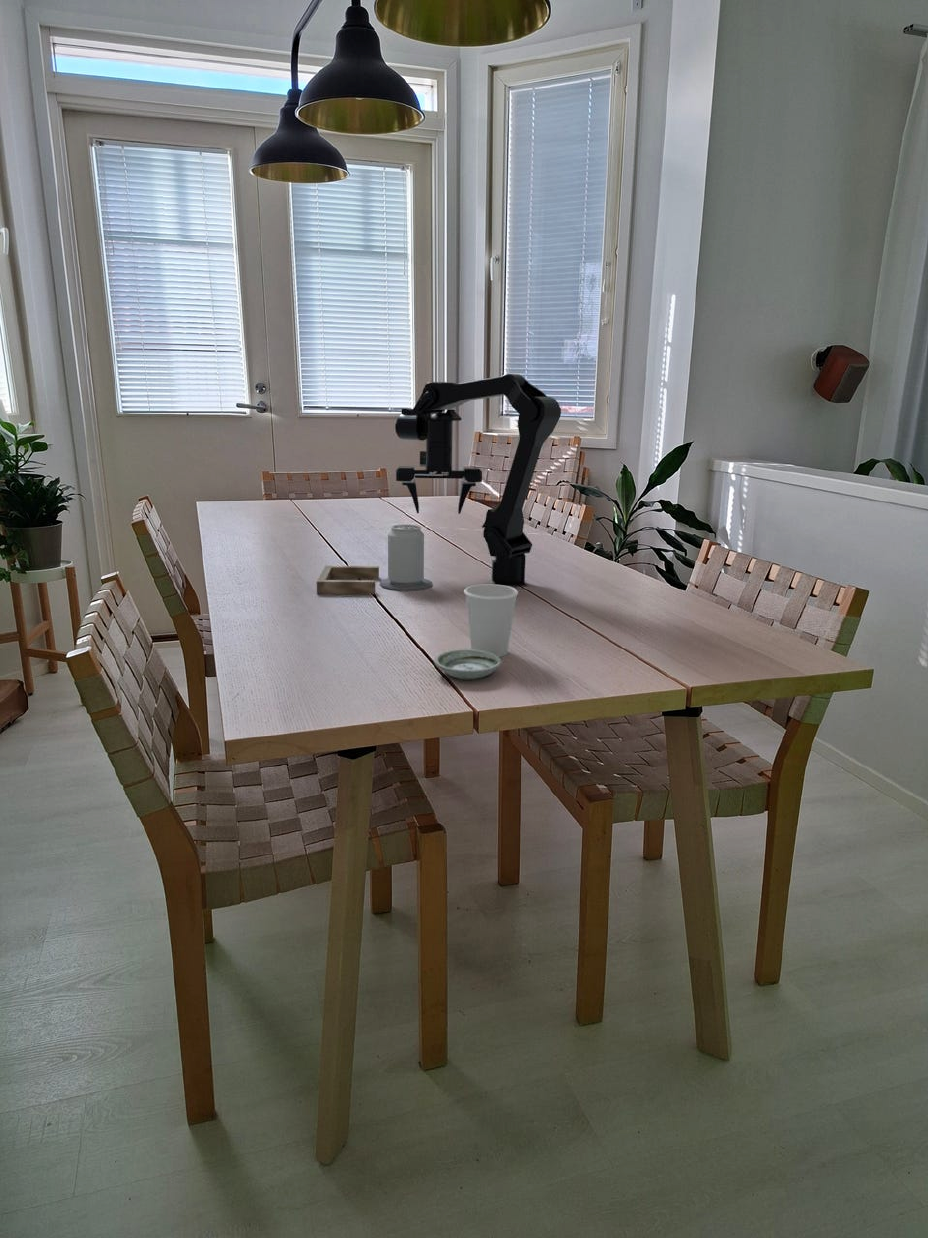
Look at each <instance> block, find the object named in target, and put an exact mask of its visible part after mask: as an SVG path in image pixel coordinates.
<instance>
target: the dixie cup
mask: <svg viewBox="0 0 928 1238" xmlns="http://www.w3.org/2000/svg"><path fill="white" fill-rule="evenodd" d="M463 594H465V599H466V601H465V602H466V610H467V623H468V631H469V639H470V649H474V650H482V651H486V652H490V653H493V654H495V655H496V656H498V657H499V658H500V657H504V656H506V655H508V651H509V646H510V645H509V644H510V641H511V640H510V639H511V633H512V626H513V619H514V615H515V614H514V613H515V608H516V600H517V596H518V595H519V591H518V590H517V589H516V588H514V587H513V586H504V585H495V583H494V584H491V583H488V584H487V583H486V584H483V583H482V584H475V585H470V586H467V587H466V588H465V589H464V590H463Z"/></svg>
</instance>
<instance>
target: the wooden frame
mask: <svg viewBox="0 0 928 1238" xmlns="http://www.w3.org/2000/svg"><path fill="white" fill-rule="evenodd" d="M379 578H380V566H379V565H378V566H377V565H325V566H324V567H323V570H322V572H321V573H320V575H319V577H318V579H317V580H316V594H318V595H376V580H379Z"/></svg>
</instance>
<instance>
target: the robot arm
mask: <svg viewBox="0 0 928 1238" xmlns="http://www.w3.org/2000/svg"><path fill="white" fill-rule="evenodd" d="M503 396H504V397H506V398H507V400H508V402H509V404H510V406H511V407H512V408H513V409H514V411H516V412H517V413H518V420H517V429H518V435H519V438H518V443H517V447H516V449H515V453H514V457H513V460H512V463H511V467H510V469H509V473H508V476H507V480H506V483H505V487H504V490H503V493H502V496H501V499H500V502H499V504H498V506H497V507H495V508H489V509H487V511H486V514H485V515H486V516H485V521H484V523H483V524H482V525H481V528H483V531H482V536H483V538H484V539H485V542H486V545H487V548H488V553H489V555H490V557H493V558H494V559H492V560H491V581H492V582H493V583H494V584H495V585H504V586H509V587H513V586H514V587H520V586H521V587H525V586H527V583H526V581H525V579H526V560H527V559H526V555H525V554H529V553H531V550H532V547H533V543H532V541H530V539H529V538H528V537H527V534H525V532H524V525H525V519H524V518H525V517H524V513H523V511H524V509H523V508H524V504H525V502H526V498H527V495H528V492H529V488H530V487H531V482H532V480H533V479H532V478H533V476H534V473H535V470H536V467H537V463H538V461H539V457H540V454H541V451H542V448H543V445H544V443H545V442H546V441H547V440H548V439H549V437H550V436H551V435H552V434H553V432H554V431H555V428H556V426H557V424H558V422H559V421H560V418H561V414H562V409H561V407H560V404H559V402H558V401H557V400H556V399H555V398H553V397H550V396H548V395H547V394H546V393H545V392H543V391H542V390H541V389H539V388H538V387H536V386H534V385H533V384H531V382H529V381H528V380H527V379H526V378H524V376H523V375H521V374H517V373H516V374H514V373H513V374H512V373H505V374H503V375H502V376H501V375H500V376H495V377H488V378H483V379H477V380H475V379H474V380H470V381H465V382H451V381H450V382H447V381H429V382H426V384H425V385H424V387H423V389H422V393H421V395H419V398H418V400H417V401H416V403H415V405H414V406H413V408H409V407H408V408H407V407H405V408H401V414H400V415H399V416H398V417H397V420H396V423H395V425H394V426H395V427H394V428H395V433H396V436H397V437H398V438H399V440H409V441H426V443H425V447H426V448H425V449H426V450H425V451H423V450H421V451H420V450H419V467H421V468H422V467H423V468H424V467H425V469H415V466H413V465H412V466H410V465H407V466H406V465H404V466H403V465H399V466H398V467H396V471H395V472H396V473H395V476H396V477H395V478H396V479H395V480H396V482H402V483H401V485H402V486H406V487H407V489H408V491H409V493H410V496H411V499H412V501H413V504H414V508H415V510H416V514H419V513H420V512H419V511H420V504H419V497H418V489H417V480H416V479H450V480H451V479H460V480H461V479H462V480H461V481H460V483H461V484H460V493H459V500H458V507H457V513H458V514H459V515H461V512H462V510H463V508H464V504H465V502H466V499H467V496H468V494H469V492H470V490H471V488H472V487H476V486H477V484H476V483H482V482H483V471H482V469H480V467H479V466H477V467H476V466H475V467H474V466H470V467H469V466H468V467H467V466H463V469H462V470H461V469H459V470H458V469H457V470H455V469H453V439H454V438H453V434H454V433H453V430H454V429H453V428H454V425H453V422H461V421H462V417H461V416H460V415H459V414H458V413H457V412H456V410H455V408H457V407H460V406H463V404H465V403H468V402H471V401H477V400H483V399H490V398H495V397H503ZM446 410H447V411H446ZM445 411H446V412H445Z"/></svg>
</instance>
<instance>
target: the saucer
mask: <svg viewBox="0 0 928 1238" xmlns="http://www.w3.org/2000/svg"><path fill="white" fill-rule="evenodd" d="M433 662H434V665H435V666H436V667H438V668H439V670H441V671H442V672H444V674H446V675H448V676H451V677H453V678H455V679H458V678H461V679H460V680H465V679H472V680H476V679H475V678H479V679H482V678H483V676H484V677H485V676H488V675H490V674H492V673H494V672H495V670H497V669H498V668H499V667H500V666H501V665H502V659H501V658H500V657H498V656H496V655H495V654H493V653H490V652H486V651H482V650H474V649H471V648H469V649H468V648H463V649H462V648H460V649H452V650H447V651H443V652H441V653H439V654H437V655H436V656H435V657H434V661H433Z"/></svg>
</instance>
